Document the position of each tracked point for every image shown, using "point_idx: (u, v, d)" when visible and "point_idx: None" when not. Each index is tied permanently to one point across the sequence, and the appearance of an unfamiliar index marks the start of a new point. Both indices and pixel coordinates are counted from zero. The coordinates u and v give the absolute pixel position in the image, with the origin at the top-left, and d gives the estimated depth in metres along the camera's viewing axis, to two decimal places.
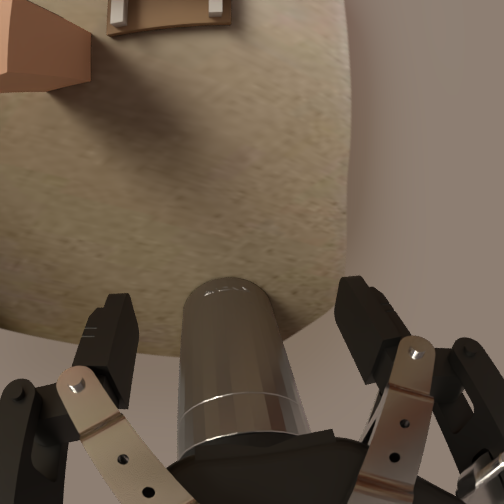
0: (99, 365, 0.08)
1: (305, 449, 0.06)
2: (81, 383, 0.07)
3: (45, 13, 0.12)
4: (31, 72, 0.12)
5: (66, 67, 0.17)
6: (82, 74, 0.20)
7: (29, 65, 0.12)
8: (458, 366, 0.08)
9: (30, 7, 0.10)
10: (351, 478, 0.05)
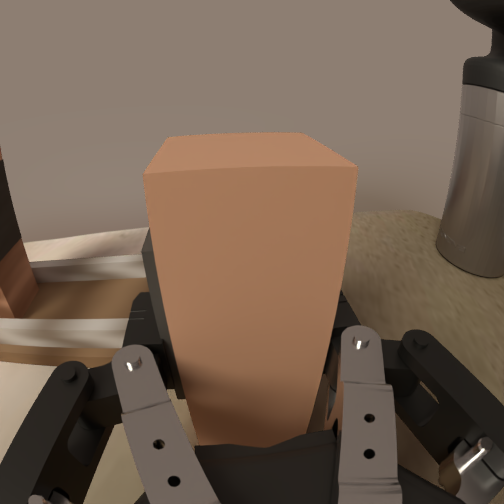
0: (154, 343, 0.09)
1: (305, 449, 0.06)
2: (137, 363, 0.08)
3: None
4: None
5: None
6: None
7: None
8: (406, 359, 0.08)
9: None
10: (330, 482, 0.05)
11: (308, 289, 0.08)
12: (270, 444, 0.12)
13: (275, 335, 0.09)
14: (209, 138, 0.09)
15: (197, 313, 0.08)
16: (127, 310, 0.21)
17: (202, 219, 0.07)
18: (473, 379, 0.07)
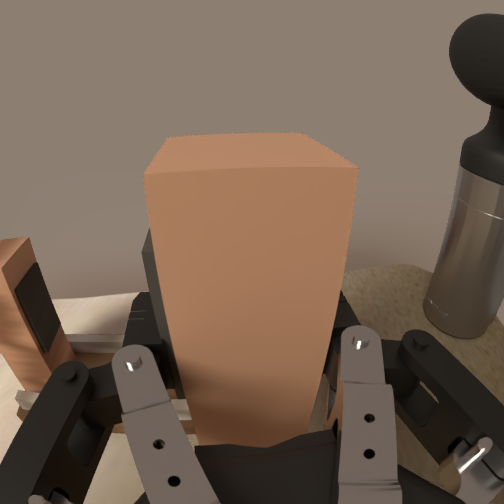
0: (154, 343, 0.09)
1: (305, 449, 0.06)
2: (137, 363, 0.08)
3: None
4: None
5: None
6: None
7: None
8: (406, 359, 0.08)
9: None
10: (330, 482, 0.05)
11: (308, 289, 0.08)
12: (270, 444, 0.12)
13: (275, 336, 0.09)
14: (209, 138, 0.09)
15: (197, 313, 0.08)
16: None
17: (202, 219, 0.07)
18: (473, 379, 0.07)
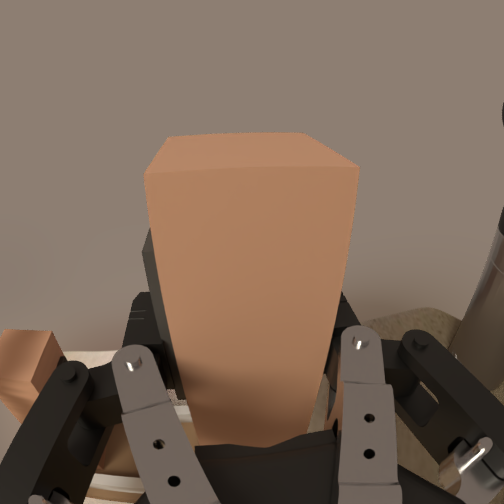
0: (154, 343, 0.09)
1: (305, 449, 0.06)
2: (138, 362, 0.08)
3: None
4: None
5: None
6: None
7: None
8: (406, 358, 0.08)
9: None
10: (330, 482, 0.05)
11: (309, 289, 0.08)
12: (270, 444, 0.12)
13: (276, 336, 0.09)
14: (210, 138, 0.09)
15: (198, 313, 0.08)
16: None
17: (202, 219, 0.07)
18: (473, 379, 0.07)
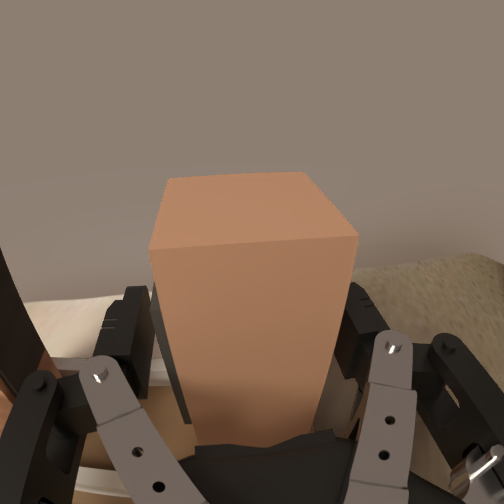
0: (122, 355, 0.08)
1: (306, 449, 0.06)
2: (104, 373, 0.07)
3: None
4: None
5: None
6: None
7: None
8: (437, 362, 0.08)
9: None
10: (342, 479, 0.05)
11: (307, 339, 0.08)
12: None
13: (275, 376, 0.09)
14: (210, 184, 0.10)
15: (204, 362, 0.08)
16: None
17: (207, 288, 0.07)
18: (495, 387, 0.07)
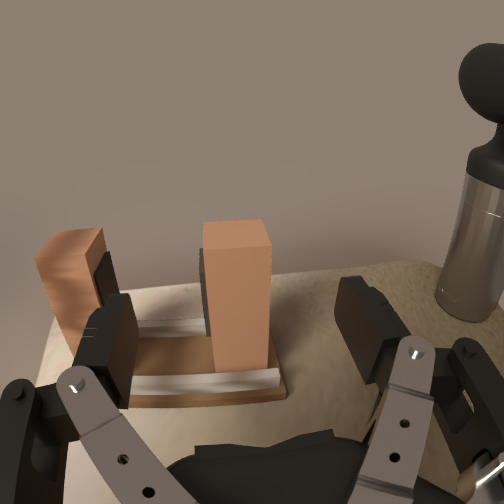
0: (99, 365, 0.08)
1: (306, 449, 0.06)
2: (81, 383, 0.07)
3: None
4: None
5: None
6: None
7: None
8: (458, 366, 0.08)
9: None
10: (351, 478, 0.05)
11: (258, 286, 0.23)
12: (250, 367, 0.27)
13: (247, 304, 0.23)
14: (221, 225, 0.24)
15: (218, 294, 0.23)
16: None
17: (221, 263, 0.21)
18: None
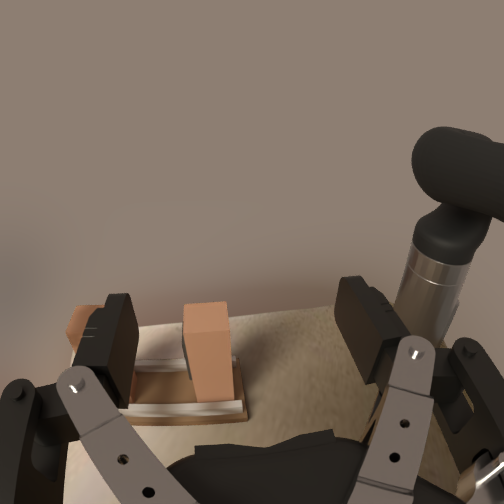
0: (99, 365, 0.08)
1: (305, 449, 0.06)
2: (81, 383, 0.07)
3: None
4: None
5: None
6: None
7: None
8: (458, 366, 0.08)
9: None
10: (351, 478, 0.05)
11: (222, 352, 0.32)
12: (221, 398, 0.36)
13: (216, 362, 0.33)
14: (196, 308, 0.33)
15: (195, 357, 0.32)
16: None
17: (196, 340, 0.31)
18: None
